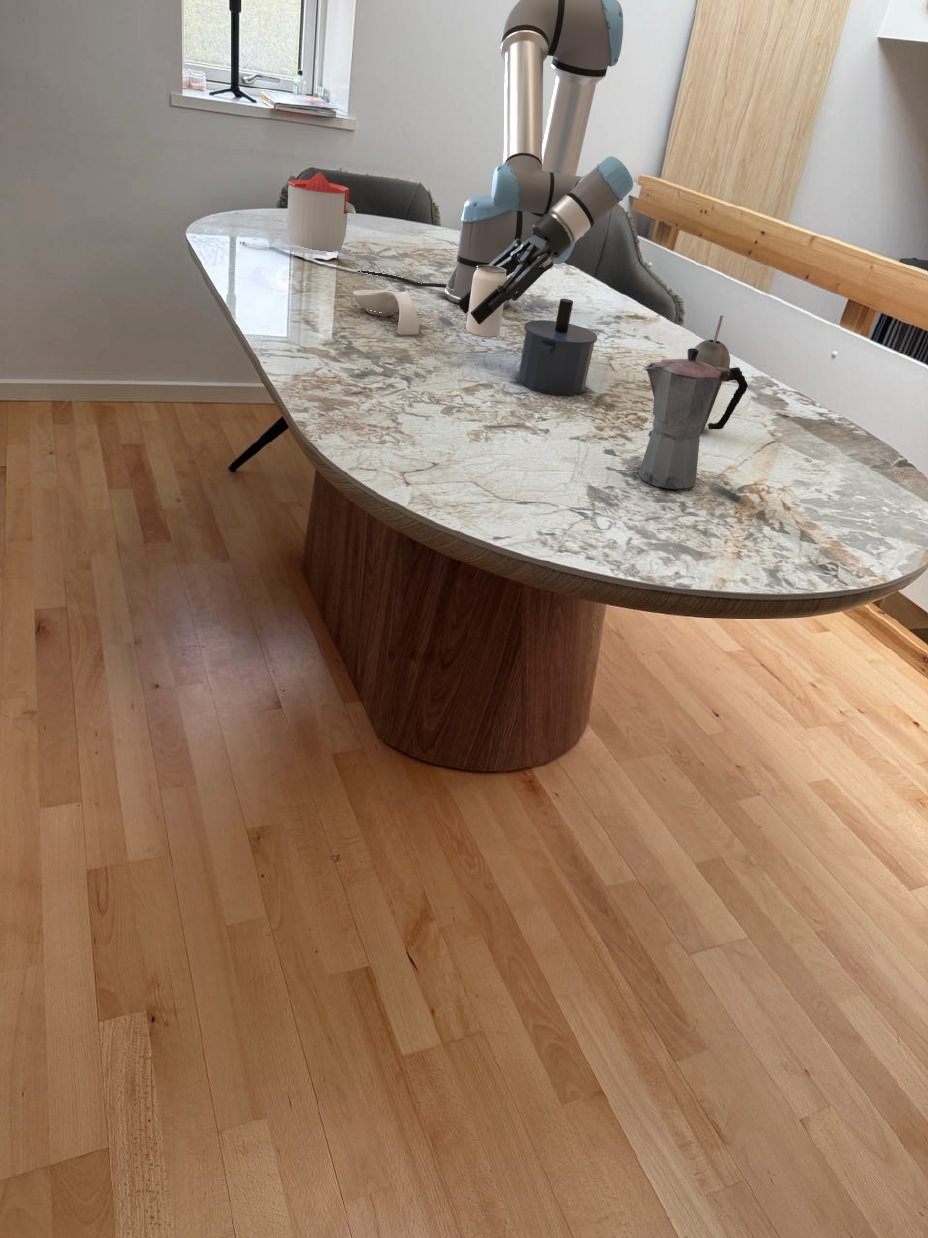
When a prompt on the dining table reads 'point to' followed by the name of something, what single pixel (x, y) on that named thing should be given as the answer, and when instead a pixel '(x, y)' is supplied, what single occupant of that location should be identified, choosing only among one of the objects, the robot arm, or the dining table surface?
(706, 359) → the beverage cup
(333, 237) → the citrus juicer
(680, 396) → the moka pot
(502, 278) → the can
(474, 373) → the dining table surface
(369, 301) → the beige curved piece
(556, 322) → the pot lid
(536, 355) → the pot
